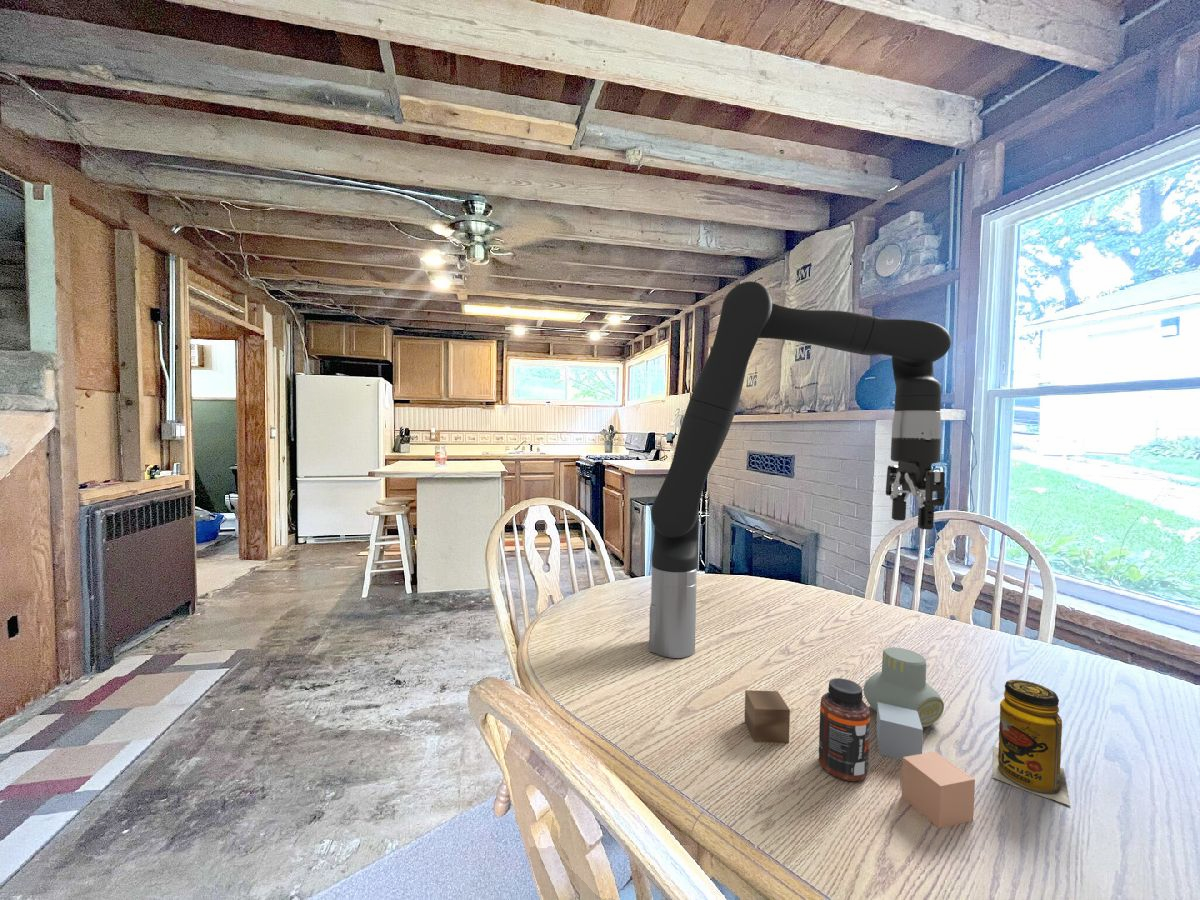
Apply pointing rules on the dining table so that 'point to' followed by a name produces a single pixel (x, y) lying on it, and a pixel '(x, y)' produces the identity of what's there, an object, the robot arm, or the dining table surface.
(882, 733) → the slate block
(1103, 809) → the dining table surface
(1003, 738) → the condiment
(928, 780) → the terracotta block
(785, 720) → the walnut block
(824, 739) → the supplement bottle
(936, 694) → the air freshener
